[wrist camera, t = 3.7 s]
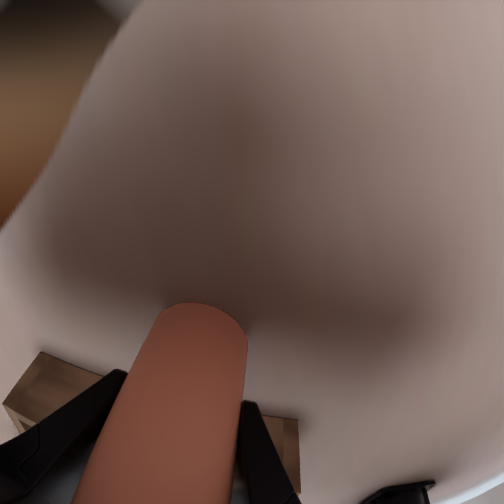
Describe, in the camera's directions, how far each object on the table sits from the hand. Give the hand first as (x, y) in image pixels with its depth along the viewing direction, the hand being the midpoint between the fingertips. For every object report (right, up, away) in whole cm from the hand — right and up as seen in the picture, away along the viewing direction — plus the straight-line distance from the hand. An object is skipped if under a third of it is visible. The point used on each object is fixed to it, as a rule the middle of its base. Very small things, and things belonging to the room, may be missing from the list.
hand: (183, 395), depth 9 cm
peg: (0, +1, +2) cm, 3 cm away
